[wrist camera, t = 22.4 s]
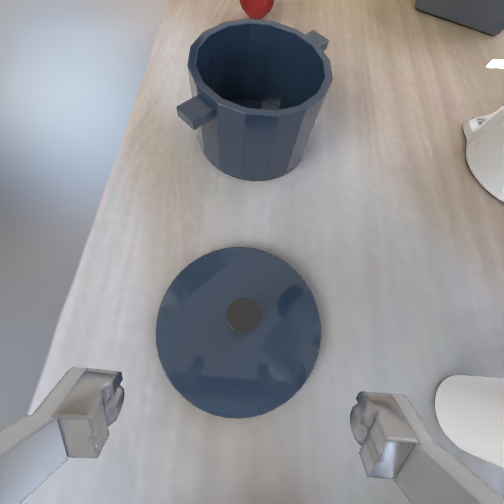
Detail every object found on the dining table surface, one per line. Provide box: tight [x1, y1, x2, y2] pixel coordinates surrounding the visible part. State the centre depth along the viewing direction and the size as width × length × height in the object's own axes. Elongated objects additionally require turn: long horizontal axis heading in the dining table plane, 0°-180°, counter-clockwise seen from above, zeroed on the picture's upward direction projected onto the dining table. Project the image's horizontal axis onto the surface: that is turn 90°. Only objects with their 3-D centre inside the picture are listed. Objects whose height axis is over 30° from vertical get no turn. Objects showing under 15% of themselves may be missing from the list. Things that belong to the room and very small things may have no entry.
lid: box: [156, 247, 321, 418], centre depth 22 cm, size 16×16×7 cm
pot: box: [176, 19, 333, 181], centre depth 30 cm, size 14×20×10 cm
